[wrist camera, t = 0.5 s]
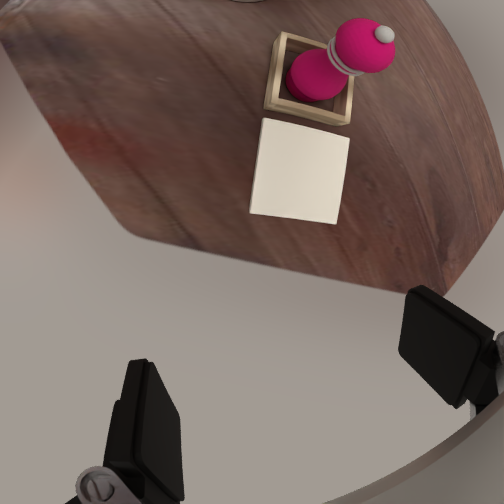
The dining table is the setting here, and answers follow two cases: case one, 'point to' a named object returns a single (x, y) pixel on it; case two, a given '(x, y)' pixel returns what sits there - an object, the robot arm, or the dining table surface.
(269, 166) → the tile
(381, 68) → the pepper mill
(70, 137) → the dining table surface
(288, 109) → the holder
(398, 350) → the robot arm
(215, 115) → the dining table surface
